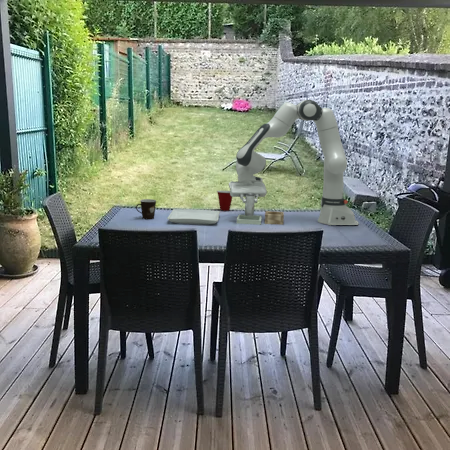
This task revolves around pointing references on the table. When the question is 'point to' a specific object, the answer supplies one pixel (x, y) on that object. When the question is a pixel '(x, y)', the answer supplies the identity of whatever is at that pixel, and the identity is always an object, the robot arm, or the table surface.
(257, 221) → the tray
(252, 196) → the canister
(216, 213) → the square plate
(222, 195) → the plastic cup
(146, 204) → the coffee mug
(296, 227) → the table surface
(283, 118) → the robot arm
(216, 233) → the table surface
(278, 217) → the holder
